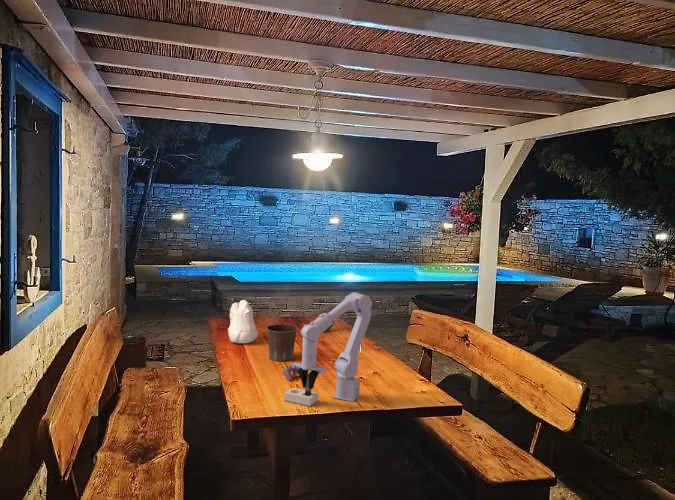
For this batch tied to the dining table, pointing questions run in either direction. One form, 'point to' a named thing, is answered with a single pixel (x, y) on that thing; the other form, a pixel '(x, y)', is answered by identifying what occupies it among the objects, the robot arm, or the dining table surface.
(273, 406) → the dining table surface
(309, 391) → the pin
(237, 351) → the dining table surface
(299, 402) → the bore block
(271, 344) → the plant pot
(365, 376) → the dining table surface
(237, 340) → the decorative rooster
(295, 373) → the video game controller
